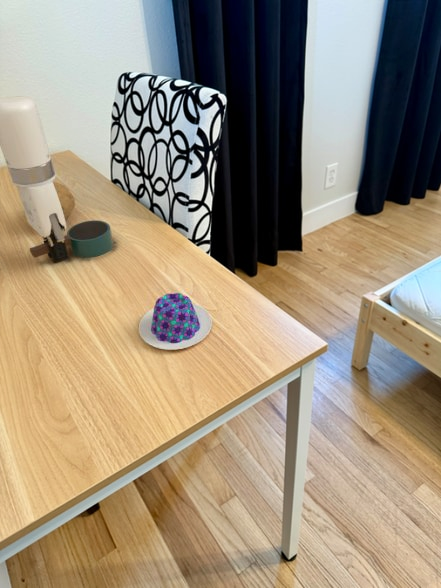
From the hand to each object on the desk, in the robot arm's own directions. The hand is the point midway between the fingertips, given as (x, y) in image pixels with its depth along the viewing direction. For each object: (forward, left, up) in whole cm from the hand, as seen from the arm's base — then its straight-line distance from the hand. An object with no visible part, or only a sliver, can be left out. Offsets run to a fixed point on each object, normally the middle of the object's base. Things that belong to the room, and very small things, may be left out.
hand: (58, 257), depth 89 cm
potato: (+6, +17, -1) cm, 18 cm away
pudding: (+6, -34, -1) cm, 35 cm away
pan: (+4, 0, 0) cm, 4 cm away
